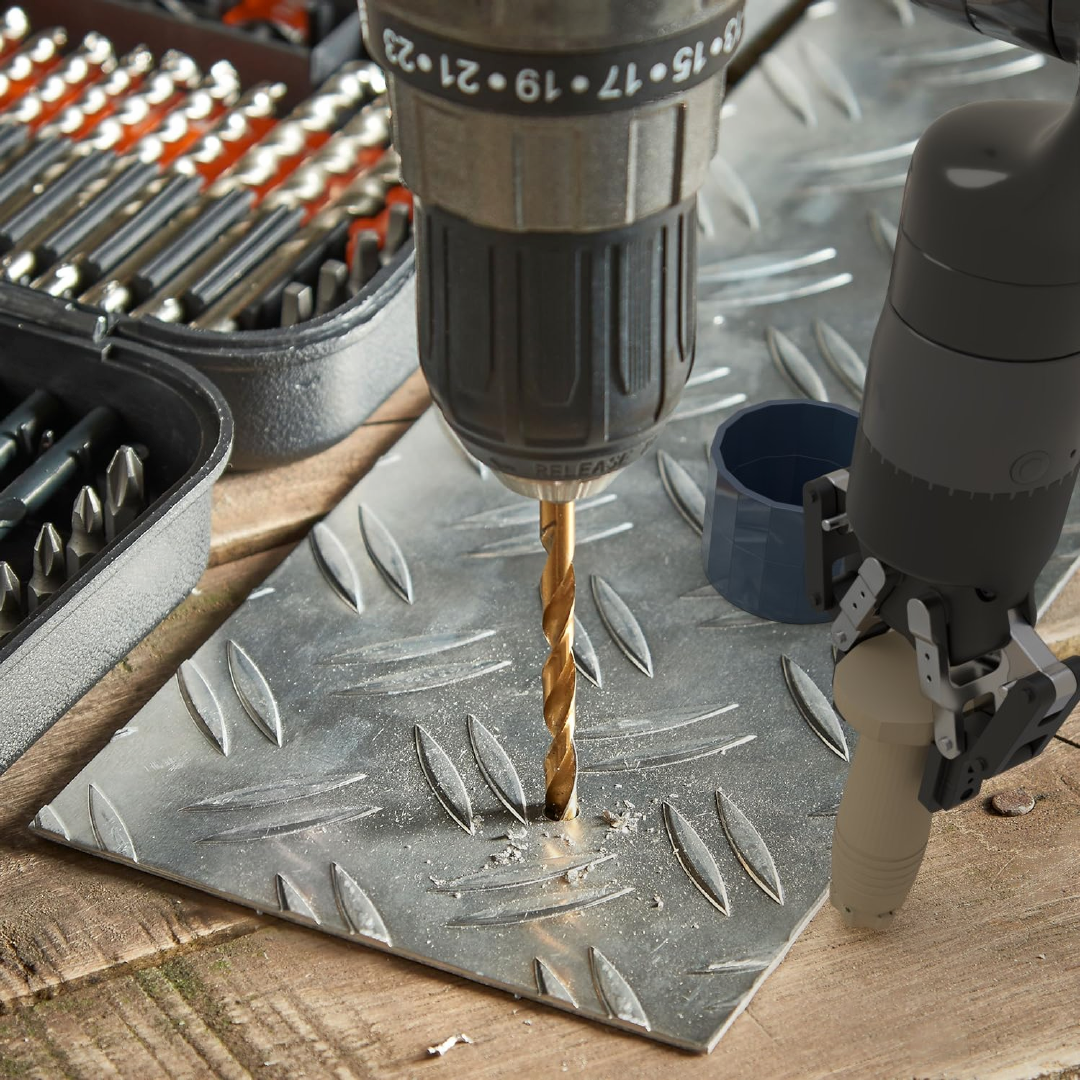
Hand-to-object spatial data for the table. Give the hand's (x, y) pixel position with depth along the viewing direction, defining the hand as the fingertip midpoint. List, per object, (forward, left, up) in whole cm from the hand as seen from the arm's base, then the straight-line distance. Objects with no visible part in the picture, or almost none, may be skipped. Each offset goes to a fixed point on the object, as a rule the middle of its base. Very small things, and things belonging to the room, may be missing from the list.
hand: (898, 752), depth 63 cm
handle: (0, 0, -11) cm, 11 cm away
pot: (-12, -22, -11) cm, 28 cm away
